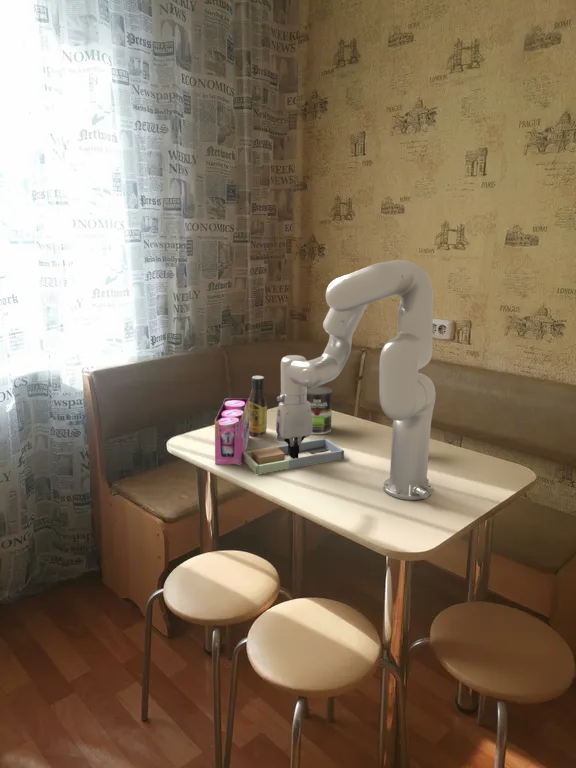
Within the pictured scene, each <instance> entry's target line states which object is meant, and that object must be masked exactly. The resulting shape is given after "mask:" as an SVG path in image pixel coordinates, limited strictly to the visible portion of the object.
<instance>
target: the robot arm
mask: <svg viewBox="0 0 576 768" xmlns="http://www.w3.org/2000/svg"><path fill="white" fill-rule="evenodd" d="M396 296H398V297H399V305H398V309H397V317H396V319H397V321H396V322H397V325H396V327H397V328H396V329H397V330H396V336H395V337H393V338H390V339H389V340H388V341H387V342H385V344H384V346H383V347H382V349H381V351H380V355H379V364H378V365H379V367H378V368H379V371H378V372H379V382H378V383H379V384H378V386H379V388H378V389H379V390H378V391H379V393H378V395H379V403H380V407H381V409H382V412H383V413H384V414H385V415H386V416H387V417H388V418H390V419H391V420H392V421H393V422H392V432H391V450H390V469H389V478H387V479H385V480H384V482H383V490H384V492H386V493H387V494H388V495H389V496H391V497H394V498H396V499H400V500H405V501H418V500H422V499H427V498H429V496H431V495H432V494H433V493H434V489H433V487H432V485H431V483H430V482H429V478H428V465H429V454H430V453H429V451H430V438H431V430H432V429H431V426H432V418H433V412H434V407H435V402H436V393H437V392H436V388H435V384H434V383H433V381H432V379H431V378H430V377H429V376H427V375H426V374H424V373H420V372H419V370H421V369H422V368H424V367H426V366H427V365H428V364H429V363H430V361H431V359H432V356H433V330H434V329H433V328H434V327H433V326H434V323H433V321H434V319H433V315H434V290H433V284H432V281H431V279H430V277H429V275H428V274H427V272H426V271H425V270H424V269H423V268H422V266H419V265H418V264H416V263H414V262H412V261H409V260H404V259H396V260H389V261H383V262H377V263H373V264H371V265H368V266H365V267H363V268H361V269H357V270H355V271H353V272H350V273H348V274H344V275H342V276H339V277H336V278H334V279H333V280H332V281H331V282H330V283H329V284H328V286H327V288H326V291H325V300H326V304H327V306H329V310H328V312H327V313H326V316H325V318H324V320H323V323H322V328H323V329H324V331H325V332H326V333H327V334H328V335H329V339H328V342H327V345H326V346H325V348H324V350H323V353H322V354H321V356H319V357H316V358H313V359H310V360H309V359H308V360H307V359H306V357H304V356H302V355H297V354H293V355H292V354H290V355H289V354H288V355H285V356H283V357H282V358H281V361H280V393H279V395H278V396H276V401H277V402H279V403H278V406H277V412H276V418H275V419H276V420H275V432H276V440H277V441H278V442H285V443H286V445H287V444H288V453H287V455H289V457H290V459H295V458H299V454H300V451H299V445H301V442H304V441H303V440H304V439H306V438H308V437H311V435H312V434H311V433H312V414H311V408H310V403H309V401H307V387H308V388H316V387H318V386H323V385H325V384H327V383H329V382H331V381H333V380H335V379H336V378H338V376H339V375H340V374H341V372H342V370H343V369H344V368H345V365H346V363H347V361H348V360H349V357H350V356H351V355H350V354H351V350H352V344H353V343H352V342H353V339H352V338H353V335H354V332H355V331H356V329H357V327H358V325H359V323H360V320H361V319H362V317H363V315H364V314H365V312H366V309H367V307H368V305H369V304H373V303H374V302H375V303H376V302H379V301H381V300H385V299H389V298H394V297H396Z"/></svg>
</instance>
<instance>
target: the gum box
mask: <svg viewBox="0 0 576 768" xmlns="http://www.w3.org/2000/svg"><path fill="white" fill-rule="evenodd" d="M248 400H249V398H239V397H238V398H237V397H236V398H235V397H234V398H233V397H232V398H231V397H227V398H224V400H223V403H222V405H221V407H220V409H219V411H218V413H217V416H215V419H214V464H215V465H229V464H242V462H243V458H242V452H246V451H247V446H248V444H249V440H250V435H249V404H248Z"/></svg>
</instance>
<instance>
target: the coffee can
mask: <svg viewBox="0 0 576 768" xmlns="http://www.w3.org/2000/svg"><path fill="white" fill-rule="evenodd" d="M307 401H309V403H310V408H311V414H312V433H311V435H326V434H329V433H330V432H332V412H333V411H332V407H333V389H332V388H330V387H327V386H323V385H321V386H318V387H316V388H308V387H307Z"/></svg>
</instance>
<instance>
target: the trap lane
mask: <svg viewBox="0 0 576 768" xmlns="http://www.w3.org/2000/svg"><path fill="white" fill-rule="evenodd" d="M276 446H277V447H278V448H279V449H280V450H281V451H282V452H283V453H285V454H288V444H287V443H286V444H282V445H276ZM276 446H274V447H276ZM270 447H271V446H270ZM270 447H268V448H270ZM264 448H265V447H264ZM264 448H262V449H264ZM253 450H254V449H253ZM253 450H245V452H242V458H243V459H242V461H243V460H244V461H245V462H246V463H247V464H248V465H249V466H250V467H251V468H252V469H253V470H252V469H251V468H250V467H249V466H248V465H247V464H246V463H245V462H244V461H243V462H244V463H245V464H246V465H247V466H248V467H249V468H250V469H251V470H252V471H253V473H254V474H255V473H256V474H259V475H261V474H260V473H264V474H266V473H265V472H269V473H274V472H273V471H275V472H279V471H278V470H280V471H284V470H283V469H285V470H290V468H291V469H295V468H296V469H297V468H301V467H306V466H311V465H317V464H321V463H327V462H334V461H339V460H343V459H344V458H345V450H343V449H342V448H341V447H339V446H338V445H336V444H335V443H334V442H332V441H331V440H329V439H328V438H326V437H325V438H318V439H312V440H305V441H302V442H301V445H299V452H302V451H308V452H309V453H310V454H312V455H307V456H301V457H298V458H295V459H293V458H290V459H285V460H284V461H278V462H273V463H267V464H261V465H258V464H257V463H256V462H255V461H254V460H253V459H252V455H251V451H253ZM327 451H328V452H327ZM322 452H324V453H322ZM316 453H317V454H316ZM256 474H255V475H256Z"/></svg>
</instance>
